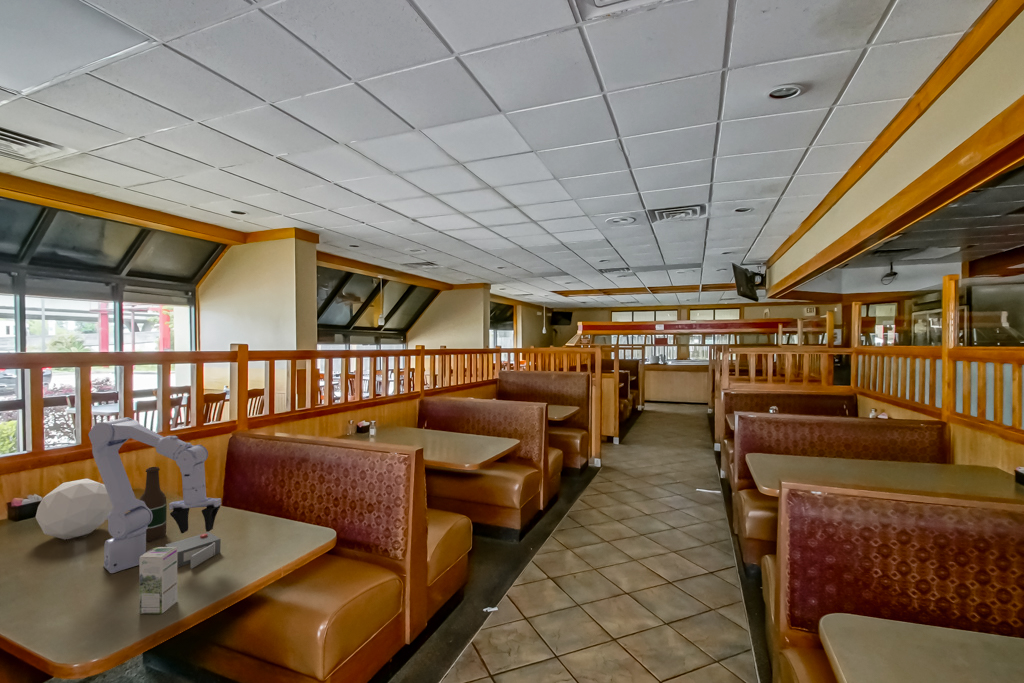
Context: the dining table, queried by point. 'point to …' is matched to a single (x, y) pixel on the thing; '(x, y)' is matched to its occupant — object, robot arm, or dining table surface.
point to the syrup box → (158, 580)
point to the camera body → (193, 546)
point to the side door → (202, 555)
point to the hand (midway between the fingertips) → (197, 531)
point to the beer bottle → (155, 505)
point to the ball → (74, 509)
